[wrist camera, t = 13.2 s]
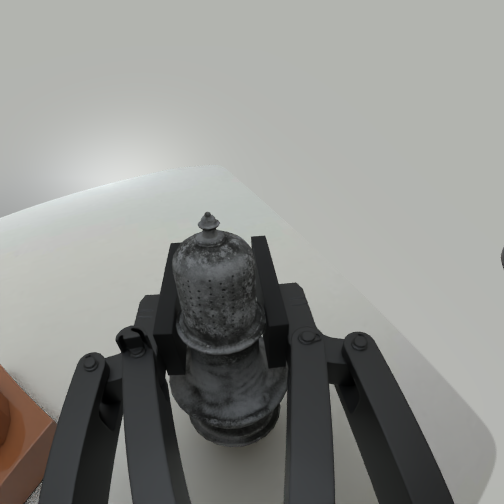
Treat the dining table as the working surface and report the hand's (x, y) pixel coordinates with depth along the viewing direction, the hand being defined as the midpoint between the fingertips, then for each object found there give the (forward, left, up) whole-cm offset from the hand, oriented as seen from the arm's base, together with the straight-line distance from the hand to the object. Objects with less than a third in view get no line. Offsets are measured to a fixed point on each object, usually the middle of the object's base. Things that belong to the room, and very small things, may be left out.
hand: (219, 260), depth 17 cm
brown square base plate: (+12, +17, -9) cm, 23 cm away
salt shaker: (-3, +5, -7) cm, 9 cm away
